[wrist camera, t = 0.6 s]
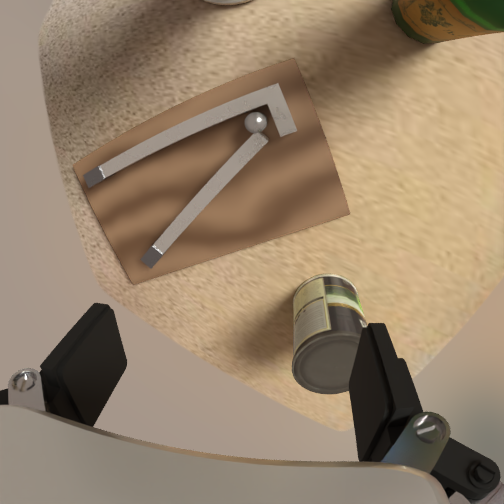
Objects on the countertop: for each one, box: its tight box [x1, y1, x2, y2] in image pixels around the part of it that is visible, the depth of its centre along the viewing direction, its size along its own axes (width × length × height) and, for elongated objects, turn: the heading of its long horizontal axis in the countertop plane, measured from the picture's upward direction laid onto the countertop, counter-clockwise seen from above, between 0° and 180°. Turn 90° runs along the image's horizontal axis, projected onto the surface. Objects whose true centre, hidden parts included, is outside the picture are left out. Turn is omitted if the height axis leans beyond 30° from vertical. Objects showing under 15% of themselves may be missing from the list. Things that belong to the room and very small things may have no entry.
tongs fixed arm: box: [83, 83, 297, 188], centre depth 38 cm, size 28×6×3 cm, turn 112°
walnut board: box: [73, 58, 350, 285], centre depth 42 cm, size 21×34×2 cm, turn 112°
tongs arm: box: [140, 112, 269, 269], centre depth 40 cm, size 25×4×3 cm, turn 137°
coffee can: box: [292, 274, 367, 394], centre depth 42 cm, size 10×10×14 cm
